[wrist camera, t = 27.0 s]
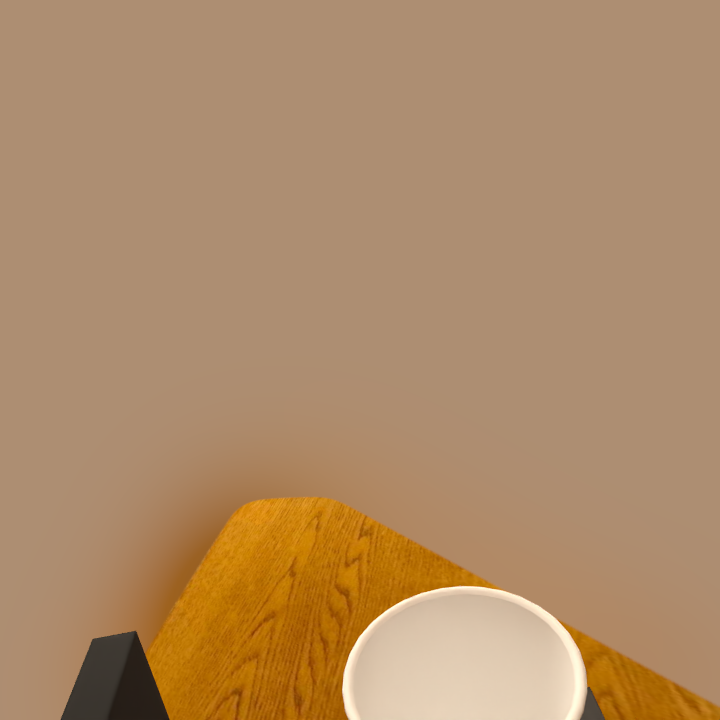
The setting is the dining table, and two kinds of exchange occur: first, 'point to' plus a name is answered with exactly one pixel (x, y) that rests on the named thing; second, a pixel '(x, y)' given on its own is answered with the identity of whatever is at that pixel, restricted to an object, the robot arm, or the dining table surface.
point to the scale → (591, 708)
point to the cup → (465, 661)
